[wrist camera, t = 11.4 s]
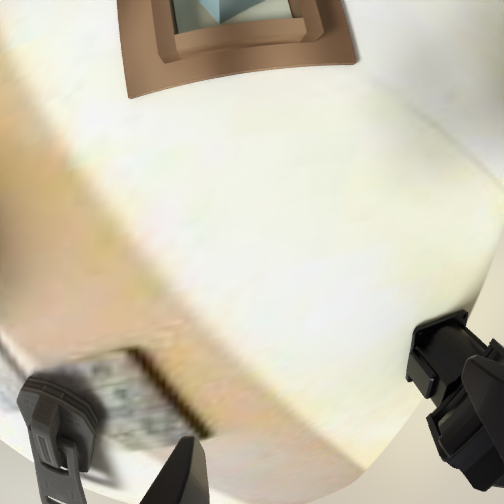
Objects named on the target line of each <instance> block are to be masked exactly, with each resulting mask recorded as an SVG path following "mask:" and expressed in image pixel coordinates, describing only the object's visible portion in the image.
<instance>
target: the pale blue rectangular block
mask: <svg viewBox="0 0 504 504" xmlns="http://www.w3.org/2000/svg"><path fill="white" fill-rule="evenodd" d="M198 1H199V2H200V4H201V5H202V6H203V7H204V8H205V9H206V10H207V11H208V12H209V13H210V14H211V15H212V16H213V18H214V19H215V20H216V21H217V22H218V23H219V24H221V23H223V22H225V21H226V20H228V19H230V18H232V17H234V16H236V15H237V14H239V13H241V12H243V11H245V10H247V9H249V8H251V7H253V6H255V5H257V4H259V3H261V2H263V1H265V0H198Z"/></svg>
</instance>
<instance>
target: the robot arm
mask: <svg viewBox="0 0 504 504" xmlns="http://www.w3.org/2000/svg"><path fill="white" fill-rule="evenodd" d="M467 318H468V312H467V311H466V310H462V311H459V312H457V313H455V314H452V315H449V316H447V317H444V318H442V319H439V320H437V321H434V322H431V323H429V324H426V325H423V326H420V327H418V328H416V329H415V330H414V331H413V335H412V342H411V349H410V353H409V359H408V365H407V371H406V372H407V373H406V380H407V381H408V382H412V381H413V382H414V383H415V385H416V386H417V387H418V389H419V390H420V392H421V393H422V395H423V396H424V397H425V398H426V399H429V398H431V400H432V401H433V403H434V404H435V405H436V407H437V408H436V409H435V410H434V411H433V412H432V413H430V414H429V415H428V416H427V417H426V419H427V422H428V424H429V425H428V426H429V428H430V431H431V434H432V437H433V439H434V442H435V445H436V447H437V450H438V453H439V456H440V457H441V459H442V460H443V461H444V462H447V463H448V464H450V466H452V467H454V468H456V469H460V471H461V472H462V473H463V474H464V475H465V477H466V478H467V479H468V481H469V482H470V484H471V485H472V487H473V488H475V489H477V490H480V491H487V490H488V489H489V488H490V487H491V486H494V487H501V488H504V347H503V346H502V345H501V344H499V343H498V342H497V341H496V340H495V339H492V340H491V342H490V343H489V344H490V345H489V346H488V347H487V346H486V345H485V344H484V343H483V342H482V341H481V340H480V339H479V338H478V337H477V336H476V335H474V334H473V333H472V332H471V331H470V330H469V329H468V328H467V327H466V323H467ZM209 503H210V501H209V487H208V478H207V469H206V459H205V452H204V449H203V447H202V446H201V444H200V442H199V440H198V439H197V437H196V436H184V437H182V438H181V439H180V441H179V442H178V444H177V445H176V447H175V449H174V450H173V452H172V454H171V455H170V457H169V458H168V460H167V462H166V463H165V465H164V466H163V468H162V469H161V471H160V473H159V474H158V476H157V477H156V479H155V480H154V482H153V484H152V485H151V487H150V488H149V490H148V491H147V493H146V494H145V496H144V497H143V499H142V501H141V502H140V504H209Z"/></svg>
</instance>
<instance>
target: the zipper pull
mask: <svg viewBox="0 0 504 504" xmlns="http://www.w3.org/2000/svg"><path fill="white" fill-rule="evenodd" d="M17 404H18V406H19V409H20V411H21V414H22V416H23V418H24V421H25V423H26V425H27V427H28V433H29V439H30V444H31V449H32V453H33V458H34V462H35V469H36V475H37V481H38V487H39V493H40V497H41V501H42V504H60V503H58V502H56V501H54V500H52V499H50V498H49V497H48V496H50V497H52V498H54V499H57V500H59V501H61V502H64V503H67V504H87V502H86V498H85V495H84V491H83V487H82V484H81V480H80V475H79V472H86V473H87V472H88V470H89V467H90V463H91V460H92V454H93V448H94V442H95V436H96V431H97V427H98V422H99V420H98V418H97V416H96V414H95V413H94V411H93V409H92V407H91V405H90V403H89V402H87V401H86V400H84V399H82V398H81V397H79V396H78V395H76V394H74V393H73V392H71V391H70V390H68V389H67V388H64V387H62V386H60V385H57V384H55V383H53V382H50V381H48V380H43V379H38V378H33V377H29V378H28V379H27V380H26V382H25V384H24V385H23V387H22V388H21V390H20V392H19V395H18V398H17ZM61 466H62V467H64V468H67V469H68V470H64V469H61V468H60V467H61Z"/></svg>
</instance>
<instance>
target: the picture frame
mask: <svg viewBox="0 0 504 504" xmlns="http://www.w3.org/2000/svg"><path fill="white" fill-rule="evenodd" d="M117 10H118V21H119V32H120V41H121V50H122V58H123V66H124V73H125V80H126V87H127V93H128V98H130V99H133V98H136V97H139V96H143V95H146V94H150V93H153V92H157V91H161V90H164V89H168V88H172V87H176V86H180V85H185V84H189V83H194V82H198V81H203V80H208V79H213V78H218V77H224V76H230V75H236V74H242V73H249V72H256V71H264V70H272V69H282V68H292V67H306V66H324V65H354V64H355V63H357V62H356V58H355V54H354V50H353V45H352V41H351V38H350V34H349V30H348V26H347V23H346V19H345V16H344V12H343V9H342V5H341V2H340V0H265V1H263V2H261V3H259V4H257V5H255V6H253V7H251V8H249V9H247V10H245V11H243V12H241V13H239V14H237V15H236V16H234V17H232V18H230V19H228V20H226V21H225V22H223V23H221V24H219V23H218V22H217V21H216V20H215V19H214V18H213V16H212V15H211V14H210V13H209V12H208V11H207V10H206V9H205V8H204V7H203V6H202V5H201V4H200V2H199V1H198V0H117Z"/></svg>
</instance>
